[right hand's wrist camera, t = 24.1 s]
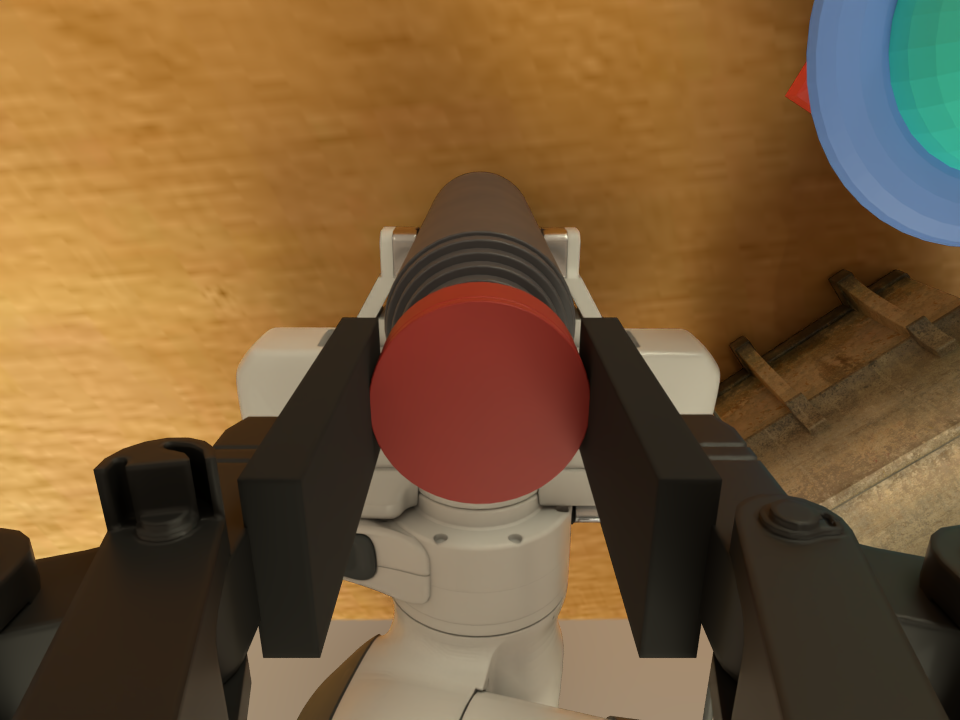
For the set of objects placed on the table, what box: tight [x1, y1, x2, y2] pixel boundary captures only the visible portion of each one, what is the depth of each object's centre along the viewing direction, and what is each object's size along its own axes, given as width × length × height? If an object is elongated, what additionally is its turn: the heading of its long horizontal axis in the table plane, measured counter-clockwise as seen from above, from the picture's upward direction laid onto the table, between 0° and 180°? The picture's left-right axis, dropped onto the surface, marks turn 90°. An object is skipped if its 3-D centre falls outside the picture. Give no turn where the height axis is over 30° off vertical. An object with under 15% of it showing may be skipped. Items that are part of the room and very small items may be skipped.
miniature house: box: [713, 269, 960, 557], centre depth 32 cm, size 15×14×11 cm
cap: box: [370, 282, 590, 504], centre depth 14 cm, size 4×4×2 cm
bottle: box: [384, 172, 576, 340], centre depth 23 cm, size 5×5×21 cm
